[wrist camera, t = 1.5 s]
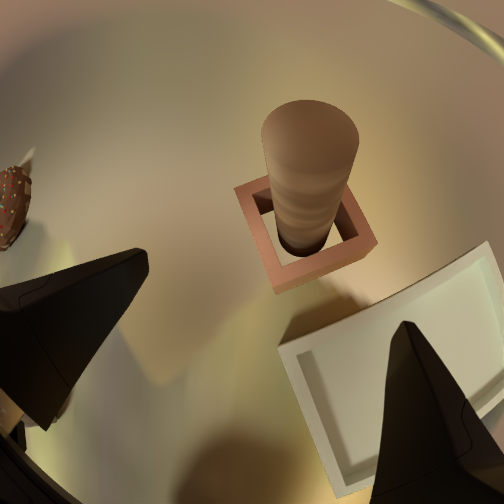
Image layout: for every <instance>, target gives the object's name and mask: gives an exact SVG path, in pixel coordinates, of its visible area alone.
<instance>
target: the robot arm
mask: <svg viewBox="0 0 504 504" xmlns="http://www.w3.org/2000/svg"><path fill="white" fill-rule="evenodd" d="M148 273H149V263H148V255H147V252H146V251H145V250H143V249H140V248H133V249H130V250H126V251H123V252H119V253H116V254H113V255H109V256H106V257H103V258H99V259H96V260H93V261H89V262H86V263H83V264H80V265H76V266H73V267H70V268H67V269H64V270H61V271H58V272H54V274H53V273H51V274H48V275H45V276H42V277H39V278H36V279H32V280H29V281H25V282H22V283H18V284H14V285H10V286H7V287H3V288H0V504H82V503H81V502H80V501H78V500H77V499H76V498H75V497H73V496H72V495H71V494H69V493H68V492H67V491H66V490H64V489H63V488H62V487H61V486H60V485H58V484H57V483H56V482H55V481H54V480H53V479H52V478H50V477H49V476H48V475H47V474H46V473H45V472H44V471H43V470H42V469H41V468H40V467H39V466H38V465H37V464H35V463H34V462H33V461H32V460H31V459H30V457H29V456H28V455H27V454H26V453H25V451H26V449H27V447H26V437H25V424H24V422H23V421H22V420H21V419H22V418H23V416H24V415H25V414H26V415H27V416H29V417H30V418H31V419H32V420H33V421H34V422H35V423H36V424H37V425H39V426H40V427H41V428H42V429H43V430H44V431H47V430H48V428H49V427H50V425H51V423H52V422H53V420H54V418H55V416H56V415H57V413H58V411H59V410H60V408H61V406H62V405H63V403H64V401H65V400H66V398H67V397H68V395H69V393H70V392H71V390H72V388H73V387H74V385H75V384H76V382H77V381H78V379H79V377H80V376H81V374H82V373H83V371H84V370H85V368H86V367H87V365H88V364H89V362H90V361H91V359H92V358H93V356H94V355H95V353H96V352H97V350H98V349H99V348H100V346H101V345H102V343H103V342H104V340H105V339H106V338H107V336H108V335H109V333H110V332H111V330H112V329H113V328H114V326H115V325H116V323H117V322H118V321H119V319H120V318H121V317H122V315H123V314H124V312H125V311H126V310H127V308H128V307H129V305H130V303H131V302H132V301H133V299H134V297H135V295H136V294H137V292H138V290H139V289H140V287H141V285H142V284H143V282H144V281H145V279H146V277H147V276H148ZM369 504H504V454H503V452H502V451H501V450H500V448H499V446H498V445H497V444H496V442H495V440H494V439H493V437H492V436H491V434H490V433H489V431H488V430H487V429H486V427H485V426H484V424H483V423H482V421H481V420H480V418H479V417H478V415H477V413H476V412H475V410H474V409H473V407H472V405H471V404H470V402H469V401H468V399H467V398H466V396H465V394H464V393H463V391H462V390H461V388H460V386H459V385H458V383H457V382H456V380H455V379H454V377H453V376H452V374H451V373H450V371H449V370H448V368H447V367H446V365H445V364H444V363H443V361H442V360H441V358H440V357H439V355H438V354H437V353H436V351H435V350H434V348H433V347H432V346H431V344H430V343H429V341H428V340H427V339H426V337H425V336H424V335H423V333H422V332H421V331H420V329H419V328H418V327H417V325H416V324H415V323H414V322H411V321H406V320H404V321H402V322H401V323H400V325H399V327H398V328H397V330H396V332H395V333H394V335H393V337H392V339H391V342H390V350H389V358H388V366H387V374H386V381H385V395H384V410H383V422H382V432H381V441H380V449H379V456H378V462H377V469H376V474H375V480H374V485H373V490H372V495H371V499H370V503H369Z"/></svg>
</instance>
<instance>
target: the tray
mask: <svg viewBox="0 0 504 504" xmlns="http://www.w3.org/2000/svg"><path fill="white" fill-rule="evenodd" d="M404 320H406V321H411V322H414V323H415V324H416V325H417V327H418V328H419V329H420V331H421V332H422V333H423V335H424V336H425V337H426V339H427V340H428V341H429V343H430V344H431V346H432V347H433V348H434V350H435V351H436V353H437V354H438V355H439V357H440V358H441V360H442V361H443V363H444V364H445V365H446V367H447V368H448V370H449V371H450V373H451V374H452V376H453V377H454V379H455V380H456V382H457V383H458V385H459V386H460V388H461V390H462V391H463V393H464V394H465V396H466V398H467V399H468V401H469V402H470V404H471V405H472V407H473V409H474V410H475V412H476V413H477V415H478V417H479V418H480V419H481V418H482V417H483V416H484V415H485V414H486V413H488V412H489V411H490V410H491V409H492V408H493V407H494V406H496V405H497V404H498V403H499V402H500V401H501V400H502V399H503V398H504V282H503V280H502V277H501V274H500V271H499V268H498V265H497V263H496V260H495V258H494V255H493V253H492V250H491V248H490V245H489V243H488V241H485V242H483V243H482V244H480V245H478V246H476V247H474V248H473V249H471V250H470V251H468V252H466V253H465V254H463V255H462V256H460V257H459V258H457V259H455V260H454V261H452V262H450V263H449V264H447V265H445V266H444V267H442V268H440V269H439V270H437V271H435V272H433V273H432V274H430V275H428V276H426V277H425V278H423V279H421V280H419V281H417V282H416V283H414V284H412V285H410V286H408V287H406V288H405V289H403V290H401V291H399V292H397V293H395V294H393V295H391V296H389V297H387V298H385V299H383V300H381V301H379V302H377V303H375V304H373V305H371V306H369V307H367V308H365V309H363V310H360V311H358V312H356V313H354V314H352V315H350V316H347V317H345V318H343V319H341V320H339V321H336V322H334V323H332V324H329V325H327V326H325V327H322V328H320V329H318V330H315V331H313V332H310V333H308V334H305V335H303V336H300V337H298V338H295V339H293V340H290V341H288V342H285V343H282V344H280V345H278V346H277V349H278V351H279V354H280V357H281V359H282V362H283V364H284V367H285V370H286V372H287V375H288V377H289V380H290V383H291V385H292V388H293V390H294V393H295V395H296V398H297V401H298V403H299V406H300V408H301V411H302V413H303V416H304V419H305V421H306V424H307V426H308V429H309V431H310V434H311V436H312V439H313V441H314V444H315V446H316V449H317V451H318V454H319V456H320V459H321V461H322V464H323V466H324V469H325V471H326V474H327V476H328V479H329V481H330V484H331V486H332V489H333V491H334V494H335V496H336V499H338V498H341V497H343V496H346V495H349V494H351V493H354V492H357V491H359V490H362V489H364V488H366V487H369V486H371V485H373V484H374V480H375V474H376V469H377V462H378V456H379V449H380V441H381V432H382V422H383V410H384V395H385V381H386V374H387V366H388V358H389V350H390V342H391V339H392V337H393V335H394V333H395V332H396V330H397V328H398V327H399V325H400V323H401V322H402V321H404Z"/></svg>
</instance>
